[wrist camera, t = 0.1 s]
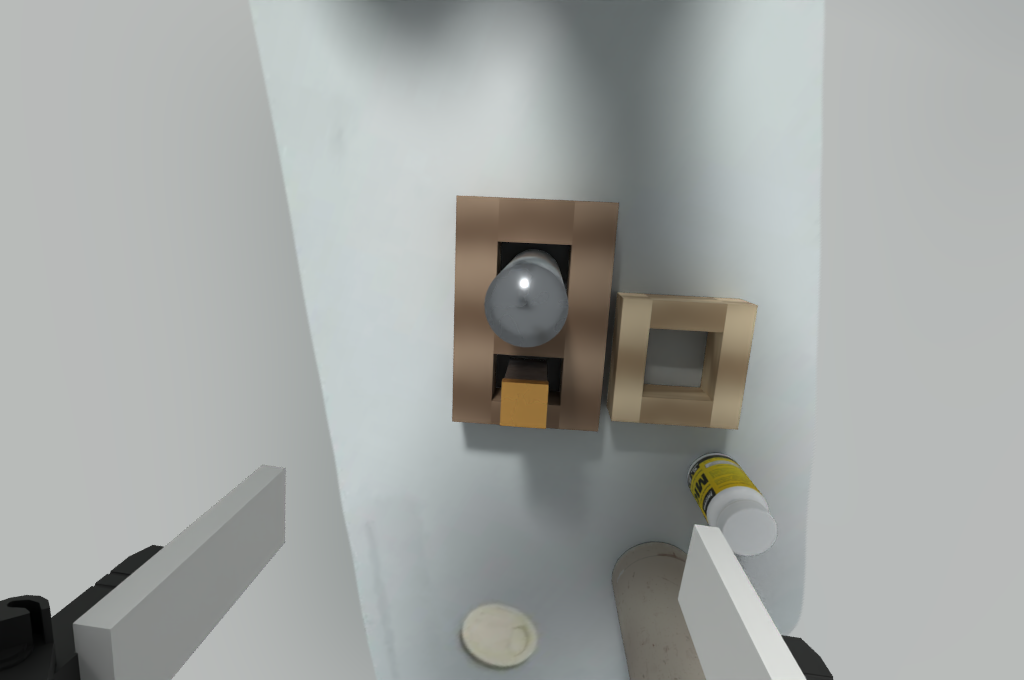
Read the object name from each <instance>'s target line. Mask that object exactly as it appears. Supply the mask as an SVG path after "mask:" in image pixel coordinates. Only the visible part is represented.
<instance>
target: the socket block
mask: <svg viewBox="0 0 1024 680" xmlns="http://www.w3.org/2000/svg"><path fill="white" fill-rule="evenodd" d="M618 209H619V203H613V202H590V201H568V200H545V199H522V198H500V197H477V196H457V204H456V255H455V307H454V358H453V409H452V421H454V422H468V423H483V424H497V425H500V413H501V390H502V388H496V370H497V354H505V355H522V356H538V357H554V358H562V361H561V375H560V389H559V392H557V391H548V402H547V418H546V428H555V429H569V430H583V431H598V427H599V416H600V405H601V394H602V383H603V372H604V361H605V350H606V340H607V329H608V318H609V307H610V296H611V285H612V274H613V263H614V252H615V241H616V230H617V220H618ZM502 242H520V243H541V244H561V245H570V248H569V262H568V276H567V290H566V293H567V297H568V303H569V305H568V315H567V319H566V321H565V324H564V326H563V327H562V329H561V330H560V332H559V333H558V334H557V335H556V336H555V337H554V338H552V339H551V340H550V341H548V342H546V343H544V344H542V345H539V346H535V347H518V346H514V345H512V344H509V343H507V342H505V341H504V340H502V339H501V338H499V337H498V336H497V335H496V334H495V333H494V331H493V330H492V329H491V327H490V325H489V323H488V321H487V318H486V315H485V308H484V303H485V296H486V293H487V290H488V288H489V286H490V284H491V282H492V281H493V280H494V278H495V277H496V276H497V275H498V274H499V273H500V271H501V246H502Z"/></svg>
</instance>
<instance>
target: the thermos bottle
mask: <svg viewBox="0 0 1024 680" xmlns="http://www.w3.org/2000/svg"><path fill="white" fill-rule="evenodd" d="M686 559H687V554H686V553H685V552H683V551H682V550H680V549H679V548H677V547H675V546H673V545H670V544H666V543H662V542H650V543H643V544H640V545H637V546H635V547H633V548H631V549H629V550H628V551H627V552H625V553H624V554H623V555H622V556H621V557H620V558H619V559H618V561H617V563H616V565H615V567H614V570H613V573H612V584H613V590H614V596H615V601H616V606H617V612H618V617H619V623H620V628H621V634H622V639H623V644H624V649H625V654H626V660H627V665H628V671H629V677H630V680H706V678H705V675H704V672H703V669H702V666H701V663H700V661H699V658H698V655H697V652H696V649H695V647H694V644H693V641H692V638H691V635H690V632H689V630H688V627H687V624H686V621H685V618H684V615H683V613H682V610H681V607H680V604H679V601H678V596H679V591H680V587H681V582H682V577H683V573H684V568H685V564H686Z"/></svg>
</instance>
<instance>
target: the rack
mask: <svg viewBox="0 0 1024 680" xmlns="http://www.w3.org/2000/svg"><path fill="white" fill-rule="evenodd" d="M757 307H758V306H757V305H755V304H752V303H749V302H747V301H744V300H742V299H732V298H714V297H695V296H677V295H658V294H640V293H621V292H617V300H616V310H615V321H614V331H613V342H612V352H611V363H610V374H609V384H608V395H607V405H606V406H607V409H608V412H609V415H610V418H611V421H621V422H635V423H650V424H665V425H679V426H694V427H708V428H723V429H738V425H739V419H740V413H741V407H742V400H743V394H744V388H745V382H746V375H747V369H748V363H749V357H750V351H751V344H752V338H753V332H754V326H755V319H756V313H757ZM650 328H654V329H672V330H689V331H706V332H708V335H707V342H706V350H705V357H704V364H703V371H702V378H701V386H700V387H684V386H668V385H653V384H643V383H644V374H645V365H646V356H647V347H648V338H649V329H650Z"/></svg>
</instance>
